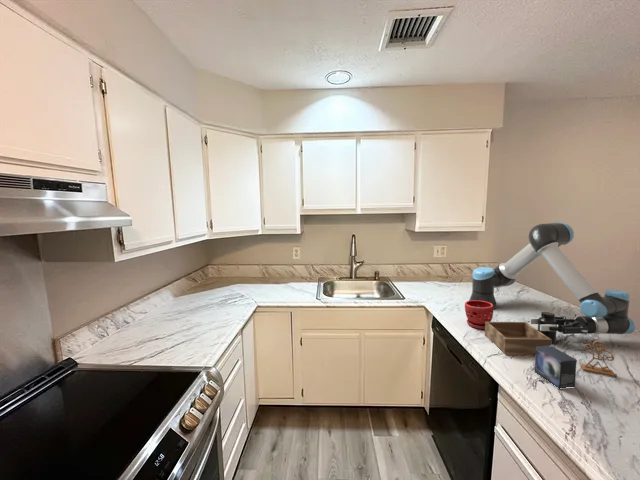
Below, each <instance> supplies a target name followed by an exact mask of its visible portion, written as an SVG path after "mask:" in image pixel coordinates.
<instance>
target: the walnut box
mask: <svg viewBox="0 0 640 480" xmlns="http://www.w3.org/2000/svg"><path fill="white" fill-rule="evenodd" d="M484 336H485V338H487V340H489V341H490V342H491V343H492V344H493V343H494V344H495V345H496V346H497V347H498V348H499V349H500V350H501V351H502V352H503V353H504V354H506V355H505V356H509V355H510V356H535V351H536V347H538V346H547V345H551V346H552V342H553V341H552V339H550V338H549V337H547V336H546V335H544V334H543V333H541V332H540V331H538V328H537V329H536V328H535V327H534V326H532V324H530V323H527V322H526V321H491V322H485V329H484ZM494 344H493V345H494ZM495 345H494V346H495ZM496 346H495V347H496ZM497 347H496V348H497ZM498 348H497V349H498ZM499 349H498V350H499ZM500 350H499V351H500ZM501 351H500V352H501ZM502 352H501V353H502ZM503 353H502V354H503ZM504 354H503V355H504Z"/></svg>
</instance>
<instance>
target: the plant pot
mask: <svg viewBox="0 0 640 480" xmlns="http://www.w3.org/2000/svg"><path fill="white" fill-rule="evenodd" d="M477 305H479V306H480V307H477ZM473 306H475V307H473ZM482 307H484V308H482ZM464 311H465V316H466V323H467V325H469V326H470V327H472V328H476V329H482V330H485V322H492V320H493V317H494V309H493V304H491V303H489V302H486V301H479V300H471V301H469V300H466V301H465V302H464Z"/></svg>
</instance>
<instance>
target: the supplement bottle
mask: <svg viewBox="0 0 640 480" xmlns="http://www.w3.org/2000/svg"><path fill="white" fill-rule="evenodd" d="M540 313H541V314H540V317H538V318H539V319H538V324H537V330H538V331H540V325H557V321H556V320H555V316H556V315H555V313H554V312H551V311H545V310H543V311H541V312H540ZM557 326H558V325H557ZM540 332H541V333H543V334H544V335H546V336H547V337H549V338H550V339H552V342H555V341H556V339H557V333H558V331H540Z"/></svg>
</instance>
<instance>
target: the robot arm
mask: <svg viewBox="0 0 640 480" xmlns="http://www.w3.org/2000/svg"><path fill="white" fill-rule="evenodd" d="M574 233H575V232H574V229H573V228H572V226H570V225H569V224H568V223H565V222H560V221H559V222H558V221H557V222H549V223H539V224H537V225H534V226H533V227H532V228H531V229H530V230H529V233H528V242H529V243H528V244H527V245H525V246H524V247H523V248H522V249H520V250H519V251H518V252H517V253H516V254H515V255H513V256H512V257H511V258H510V259H509V260H508V261H506V262H502V263H499V265H497V266H496V267H495V268H492V267H490V266H484V267H483V266H481V267H476V268H475V269H473V271H472V277H471V278H472V285H471V286H472V291H471V295H470V298H469V299H468V301H471V300H479V301H486V302H489V303H491V304H493V310H495V309H497V307H498V303H497V300H496V298H495V288H503V287H509V286H512V285H513V284H515V282H516V281H517V278H518V276H519V275H518V274H520V273H521V272H522V271H523V270H525V269H526V268H528V267H529V266H530V265H531V264H532V263H534V262H535V261H536V260H537V259H539V258H541V256H542V257H543V258H544V260H545V261H546V262H547V263H548V265H549V266H550V267H551V269H553V271H554V272H555V273H556V274H557V275H558V276H559V278H560V280H561V281H562V282H563V283H564V284H565V285H566V287H567V288H568V289H569V290H570V292H571V293H572V294H573V295H574V296H575V298H576V299H577V300H578V301H579V302H580V305H579V308H580V312H581V313H582V314H583V315H581V316H580V315H579V316H577V317H576V318H567V316H565V315H564V316H556V315H555V320H556V321H557V325H540V331H557V333H562V334H563V335H574V334H576V335H577V334H583V335H588V334H590V335H591V334H594V335H599V334H603V335H604V334H605V335H606V334H607V335H609V334H610V335H627V334H629V335H630V334H632V333H633V332H635V330H636V325H635V322H634V320H633V319H632V318H630V317H629V315H628V314H629V308H630V307H629V306H630V302H631V301H630V293H628V292H627V291H624V290H620V289H619V290H618V289H607V290H605V291H604V295H603V296H601V294H600V293H599V292H598V291H597V289H595V288H594V287H593V285H592V284H591V283H590V282H589V281H588V279H587V278H586V277H585V276H584V275H583V274H582V272H580V270H579V269H578V268H577V267H576V266H575V264H574V263H573V262H572V261H571V260H570V259H569V258H568V256H567V255H566V254H565V252H564V251H562V250H561V248H560V247H562V245H563V246H565V245H567V244H569V243H571V242H572V241H573V239H574V237H575V236H574ZM473 307H475V306H473ZM477 307H480V306H479V305H477ZM482 308H484V307H482ZM539 318H540V317H529V325H538V319H539Z"/></svg>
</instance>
